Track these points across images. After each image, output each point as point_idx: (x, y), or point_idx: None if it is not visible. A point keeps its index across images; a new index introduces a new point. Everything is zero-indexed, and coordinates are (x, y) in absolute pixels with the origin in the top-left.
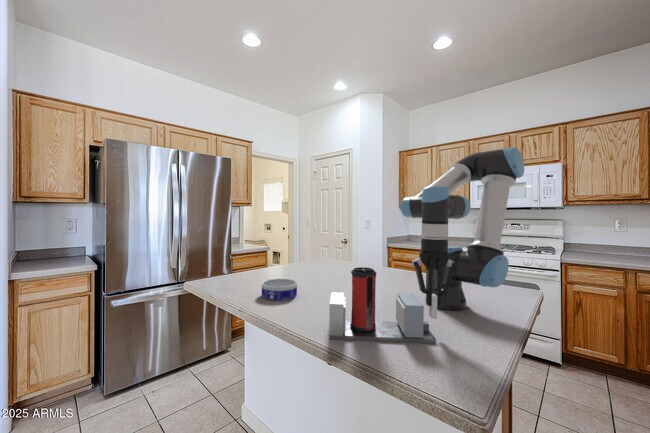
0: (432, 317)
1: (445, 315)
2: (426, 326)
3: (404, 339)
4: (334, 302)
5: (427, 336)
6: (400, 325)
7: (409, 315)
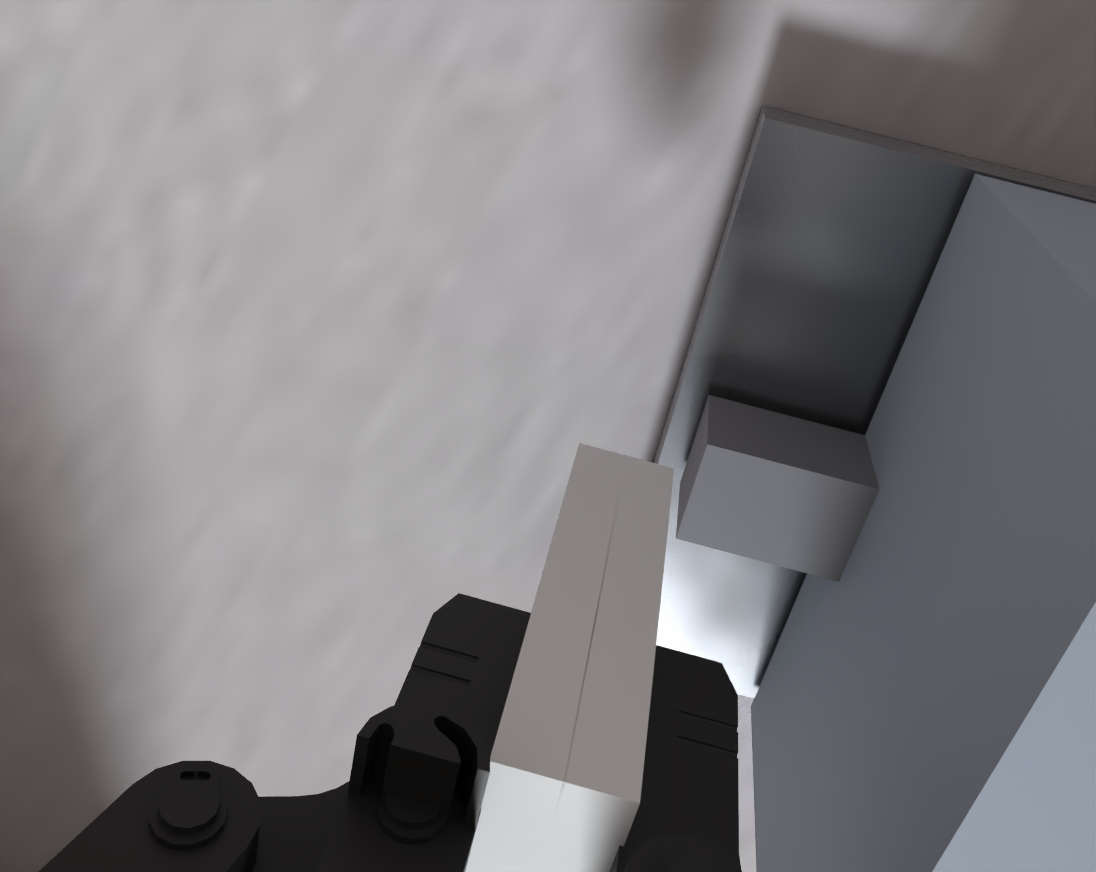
0: (661, 470)
1: None
2: (749, 434)
3: None
4: None
5: (839, 241)
6: None
7: None
